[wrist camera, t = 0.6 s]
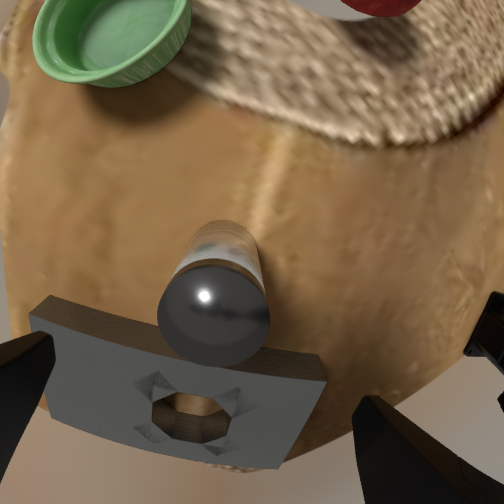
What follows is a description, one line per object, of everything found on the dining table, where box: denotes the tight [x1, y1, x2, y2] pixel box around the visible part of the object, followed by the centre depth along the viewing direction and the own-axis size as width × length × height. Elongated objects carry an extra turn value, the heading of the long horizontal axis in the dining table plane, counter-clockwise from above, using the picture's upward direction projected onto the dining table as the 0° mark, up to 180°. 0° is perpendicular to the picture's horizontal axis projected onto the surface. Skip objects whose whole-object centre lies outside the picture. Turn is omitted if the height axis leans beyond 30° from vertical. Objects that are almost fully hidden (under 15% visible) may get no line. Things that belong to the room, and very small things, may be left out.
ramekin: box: [33, 0, 191, 88], centre depth 12 cm, size 9×9×4 cm
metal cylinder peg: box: [157, 220, 270, 367], centre depth 14 cm, size 4×4×8 cm
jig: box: [29, 295, 327, 469], centre depth 20 cm, size 20×11×3 cm, turn 76°
